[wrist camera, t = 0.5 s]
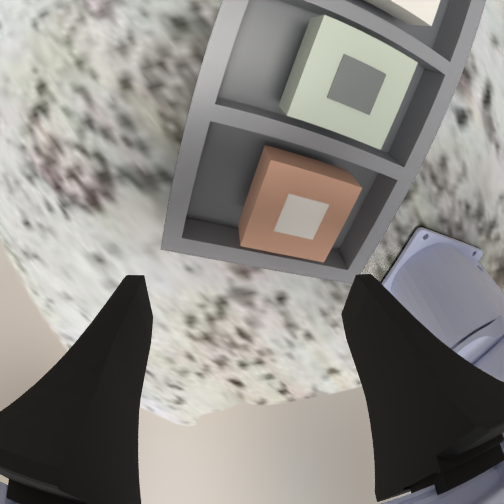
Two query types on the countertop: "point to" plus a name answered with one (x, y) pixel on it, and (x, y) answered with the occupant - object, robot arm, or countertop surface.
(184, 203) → the grey compartment tray
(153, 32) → the countertop surface
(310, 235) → the key terracotta
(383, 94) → the key sage
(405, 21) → the key offwhite
